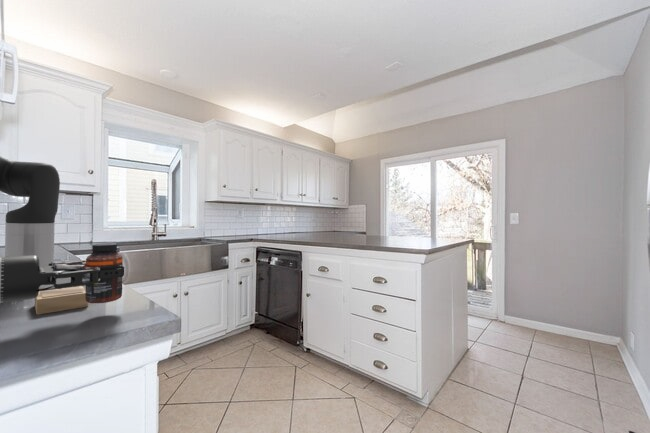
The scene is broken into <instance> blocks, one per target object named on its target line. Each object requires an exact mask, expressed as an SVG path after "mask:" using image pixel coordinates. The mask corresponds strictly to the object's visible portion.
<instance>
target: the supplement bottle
mask: <svg viewBox="0 0 650 433" xmlns="http://www.w3.org/2000/svg"><path fill="white" fill-rule="evenodd" d="M117 250H118V244H117V243H116V242H99V243H93V244H92V248H91V251H92V252H91V254H89V255H88V256H87V257H86V259H85V261H86V266H87V267H109V266H120V265H121V266H123V262H124V261H123V260H124V258H123V255H122V254H121V253H120V252H118V251H117ZM123 267H124V266H123ZM86 277H87V278H90V273H88V274H86ZM85 292H86V293H85V297H86V298H85V299H86V301H87V302H88V304H106V303H110V302H115V301H118V300H119V299H121V298H122V296H123V277H117V278H109V279H101V280H100V281H98V283H96V284H87V285H85Z"/></svg>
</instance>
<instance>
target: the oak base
mask: <svg viewBox="0 0 650 433" xmlns="http://www.w3.org/2000/svg"><path fill="white" fill-rule="evenodd" d="M85 290H86V287H84V285H80V286H73V287H66V288H62V289H56V288H53V289H47V290H39V293H38V296H37V297H36V298H34V310H35V313H36V315H43V314H49V313H57V312H61V311H62V312H63V311H68V310H74V309H79V308H86V307H89V302H87V301H86V299H85V298H86V297H85V293H86V292H85Z"/></svg>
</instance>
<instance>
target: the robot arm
mask: <svg viewBox="0 0 650 433" xmlns="http://www.w3.org/2000/svg"><path fill="white" fill-rule="evenodd" d="M60 186H61V181H60V174H59V171H58V170H57V169H56V167H55V166H54V165H53V164H50V163H48V162H47V163H45V162H34V161H17V160H10V159H9V158H8V159H7V158H6V157H3V156H0V192H2V193H4V194H6V195H9V196H12V197H17V198H21V197H22V198H28V201H27V202H26V204H25V205H23V206H21V207H18V208H15V209H12V210H9V211H8V212H6V213H5V224H4V225H5V227H4V228H5V231H4V234H5V235H4V256H0V304H1V303H9V302H16V301H23V300H32V299H35V298H36V297H37V296H38V293H39V291H40V290H43V289H47V288H50V287H53V288H54V289H62V288H70V287H79V286H86V285H87V284H96V283H98V281H100V280H101V279H109V278H117V277H122V278H123V276H125V266H121V265H120V266H109V267H87V266H86V259H85V260H79V261H78V260H77V261H76V260H74V261H54V260H55V222H56V221H55V220H56V215H57V213H58V209H59V196H60V188H61V187H60ZM88 273H90V278H87V277H86V274H88Z"/></svg>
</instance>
